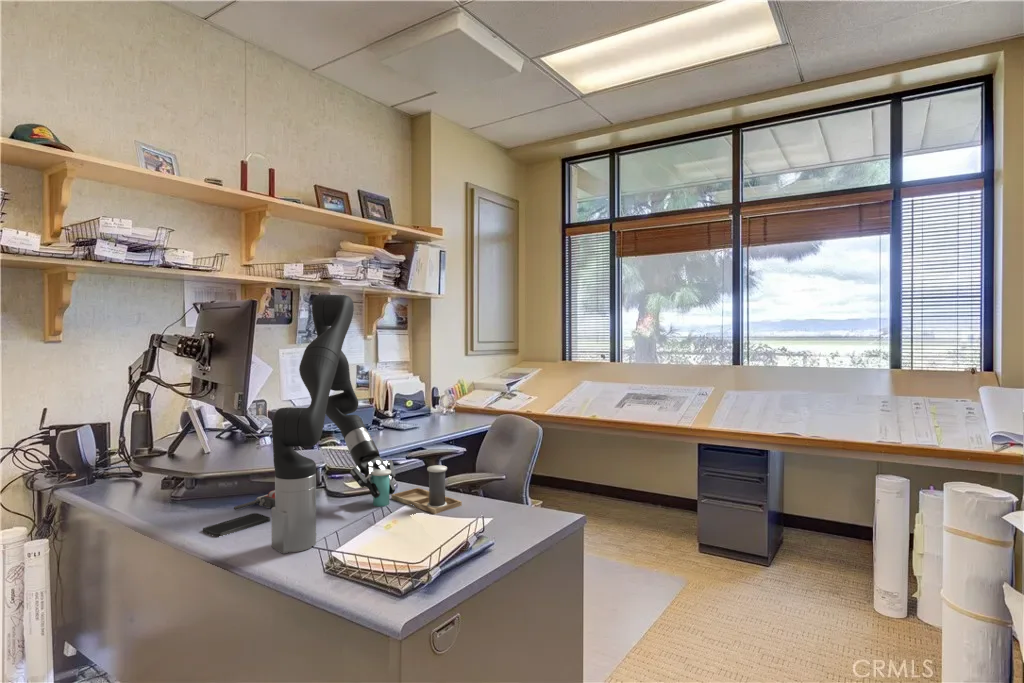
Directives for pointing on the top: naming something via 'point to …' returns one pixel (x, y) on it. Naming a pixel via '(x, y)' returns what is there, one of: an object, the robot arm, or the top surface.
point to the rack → (424, 500)
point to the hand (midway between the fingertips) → (385, 494)
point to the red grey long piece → (261, 501)
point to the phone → (236, 524)
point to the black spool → (436, 486)
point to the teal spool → (381, 486)
